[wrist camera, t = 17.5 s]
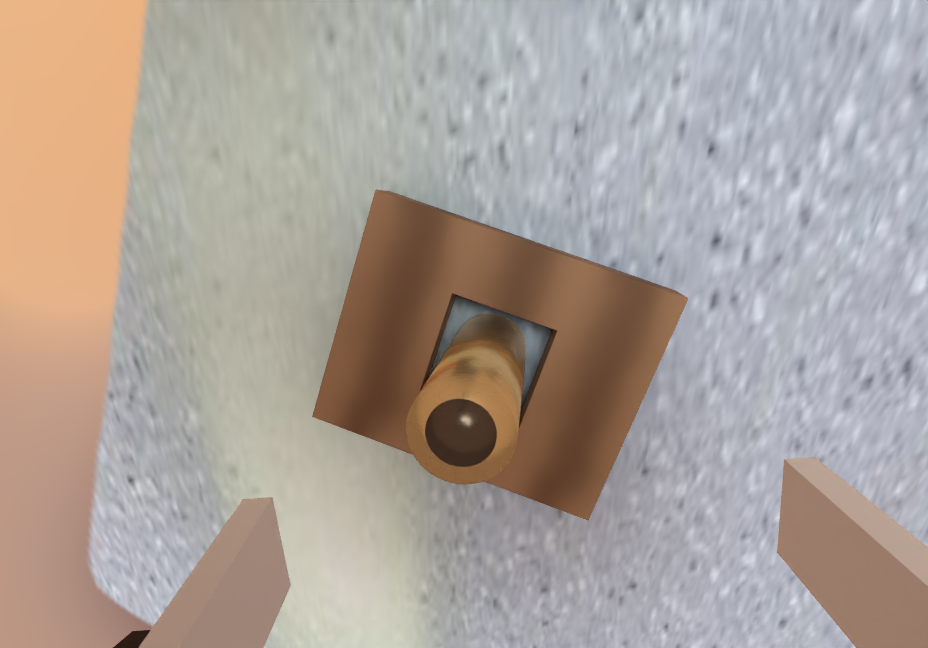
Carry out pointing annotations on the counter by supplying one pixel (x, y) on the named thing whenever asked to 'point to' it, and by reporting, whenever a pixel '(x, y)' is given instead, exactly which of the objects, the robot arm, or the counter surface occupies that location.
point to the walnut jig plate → (518, 293)
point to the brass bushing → (471, 403)
